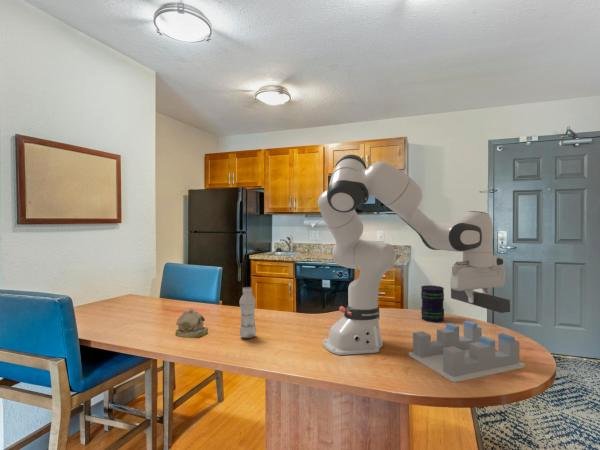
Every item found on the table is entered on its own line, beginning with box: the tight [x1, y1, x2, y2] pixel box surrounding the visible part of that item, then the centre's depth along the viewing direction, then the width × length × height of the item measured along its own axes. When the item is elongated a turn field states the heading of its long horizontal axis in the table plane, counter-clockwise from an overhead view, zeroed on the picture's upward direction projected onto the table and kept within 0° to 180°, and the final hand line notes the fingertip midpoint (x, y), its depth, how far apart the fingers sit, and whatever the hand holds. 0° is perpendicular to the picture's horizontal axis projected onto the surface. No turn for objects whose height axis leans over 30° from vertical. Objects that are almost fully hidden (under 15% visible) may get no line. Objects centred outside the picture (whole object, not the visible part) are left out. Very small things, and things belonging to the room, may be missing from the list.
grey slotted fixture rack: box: [408, 320, 526, 384], centre depth 106 cm, size 28×20×10 cm
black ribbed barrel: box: [420, 284, 445, 324], centre depth 151 cm, size 10×10×15 cm
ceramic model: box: [174, 309, 209, 338], centre depth 137 cm, size 14×11×10 cm
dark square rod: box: [450, 287, 511, 314], centre depth 108 cm, size 4×20×4 cm, turn 18°
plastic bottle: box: [239, 286, 257, 339], centre depth 131 cm, size 6×7×20 cm
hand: (477, 301), depth 108 cm, fingers closed on dark square rod, 4 cm apart
